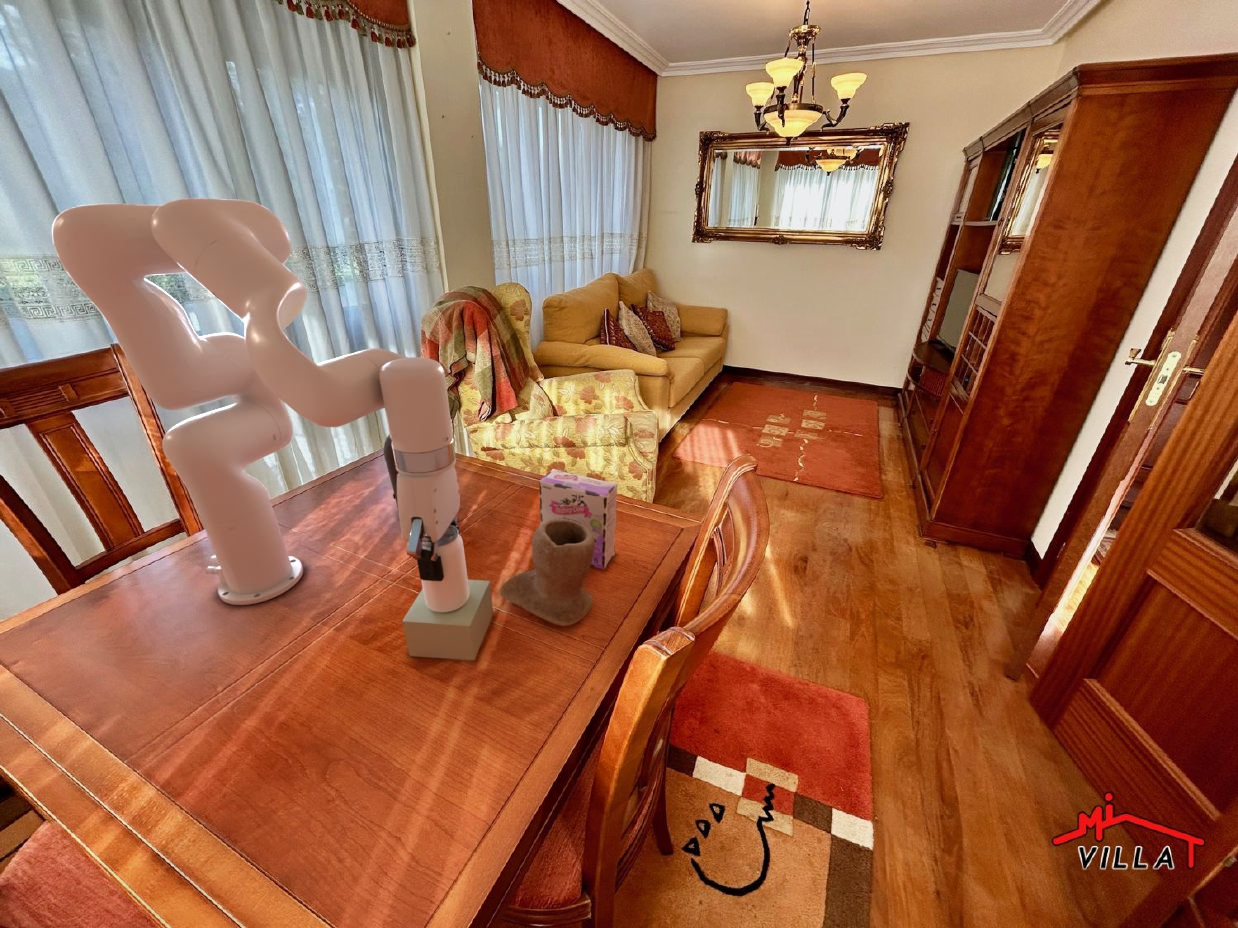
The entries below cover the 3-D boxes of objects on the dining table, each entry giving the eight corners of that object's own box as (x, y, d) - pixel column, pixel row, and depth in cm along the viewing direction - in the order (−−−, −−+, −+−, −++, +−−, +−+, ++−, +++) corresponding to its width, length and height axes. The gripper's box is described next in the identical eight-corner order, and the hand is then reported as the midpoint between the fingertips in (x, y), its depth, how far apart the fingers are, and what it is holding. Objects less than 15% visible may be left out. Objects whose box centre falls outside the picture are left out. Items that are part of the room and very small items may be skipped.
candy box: (540, 552, 100) (537, 480, 92) (554, 537, 104) (552, 467, 97) (604, 570, 95) (605, 496, 88) (615, 553, 100) (618, 481, 93)
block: (409, 656, 76) (401, 621, 73) (435, 609, 85) (429, 576, 81) (474, 660, 75) (469, 625, 72) (493, 613, 84) (489, 580, 81)
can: (457, 617, 73) (447, 551, 68) (417, 610, 74) (404, 544, 69) (477, 589, 79) (469, 525, 74) (439, 582, 80) (429, 519, 75)
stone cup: (608, 598, 88) (610, 527, 82) (565, 640, 79) (564, 564, 73) (543, 566, 96) (540, 499, 89) (497, 601, 87) (490, 529, 80)
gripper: (424, 427, 74) (439, 528, 82) (363, 484, 58) (389, 602, 66) (474, 430, 73) (484, 531, 81) (426, 487, 58) (445, 606, 66)
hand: (442, 562), depth 74 cm, fingers closed on can, 6 cm apart
